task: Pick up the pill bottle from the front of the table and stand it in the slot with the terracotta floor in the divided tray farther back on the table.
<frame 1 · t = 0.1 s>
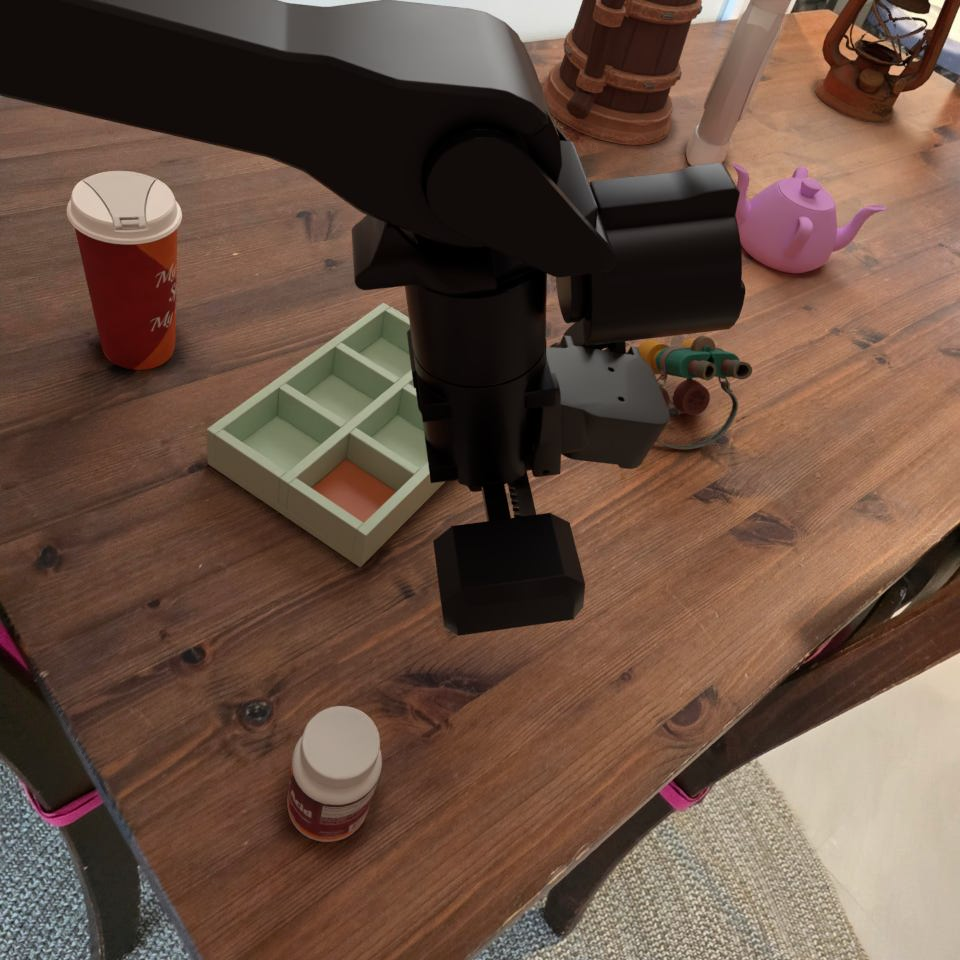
hand: (490, 551, 50), 13 cm above the table, tool pointing down, fingers open, 9 cm apart
lantern: (853, 102, 141), on the table
teapot: (774, 249, 105), on the table
mug: (599, 115, 119), on the table
pill bottle: (327, 804, 52), on the table
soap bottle: (712, 160, 117), on the table
paper cup: (139, 348, 73), on the table
divided tray: (370, 438, 71), on the table
binoculars: (666, 418, 81), on the table
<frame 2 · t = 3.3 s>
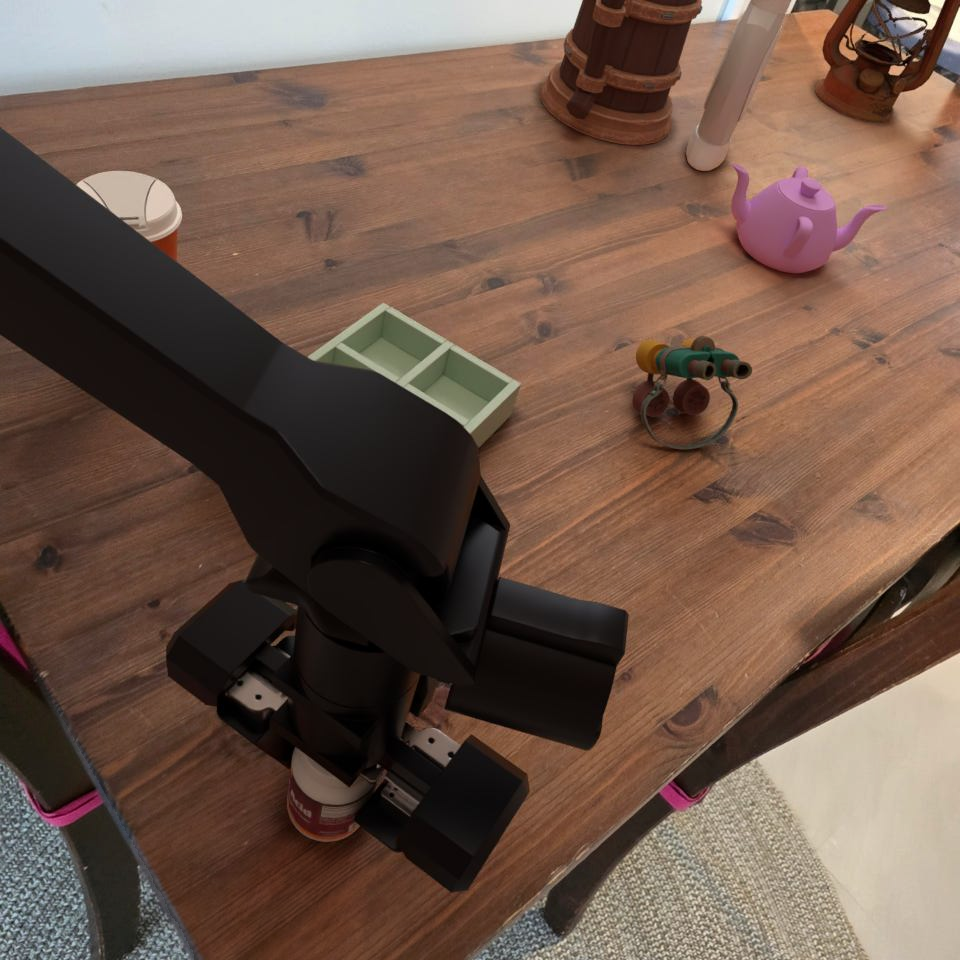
hand: (331, 789, 50), 2 cm above the table, tool pointing down, fingers closed on pill bottle, 5 cm apart
pill bottle: (327, 804, 52), on the table, touching gripper
everything else where it was.
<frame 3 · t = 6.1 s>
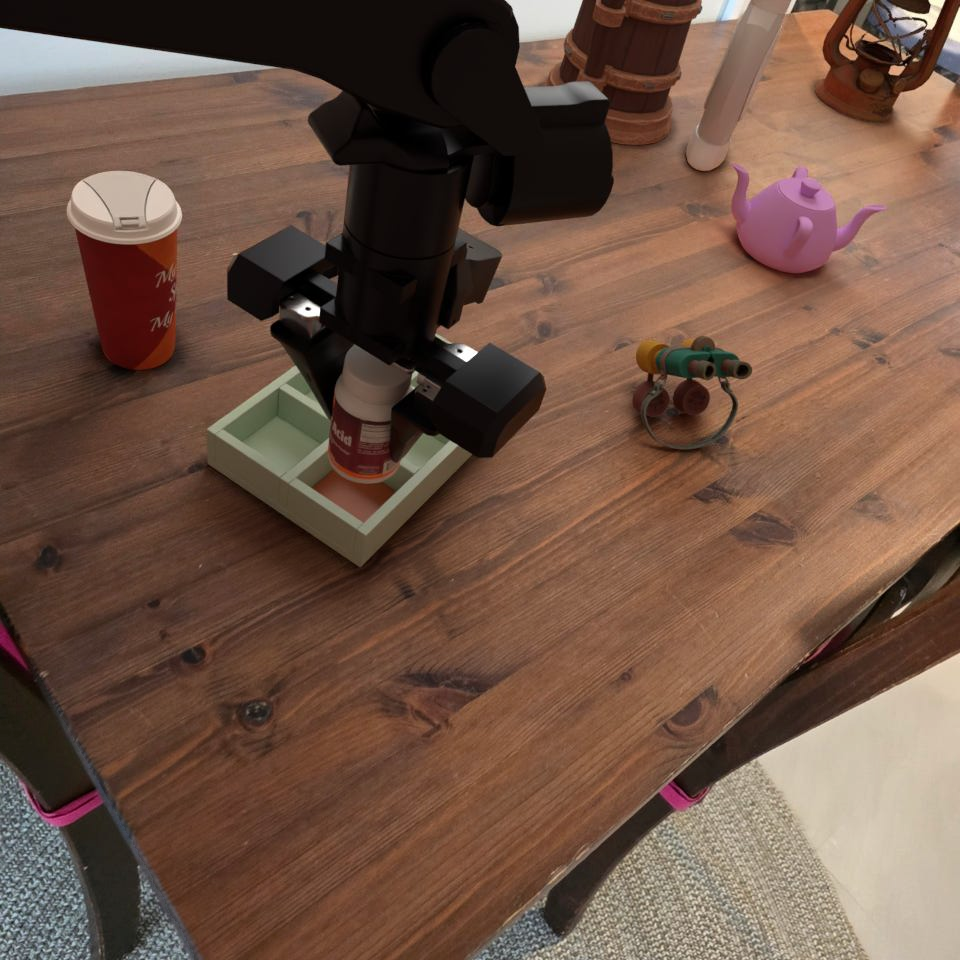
hand: (367, 437, 56), 11 cm above the table, tool pointing down, fingers closed on pill bottle, 5 cm apart
pill bottle: (363, 460, 58), point 9 cm above the table, touching gripper
everything else where it was.
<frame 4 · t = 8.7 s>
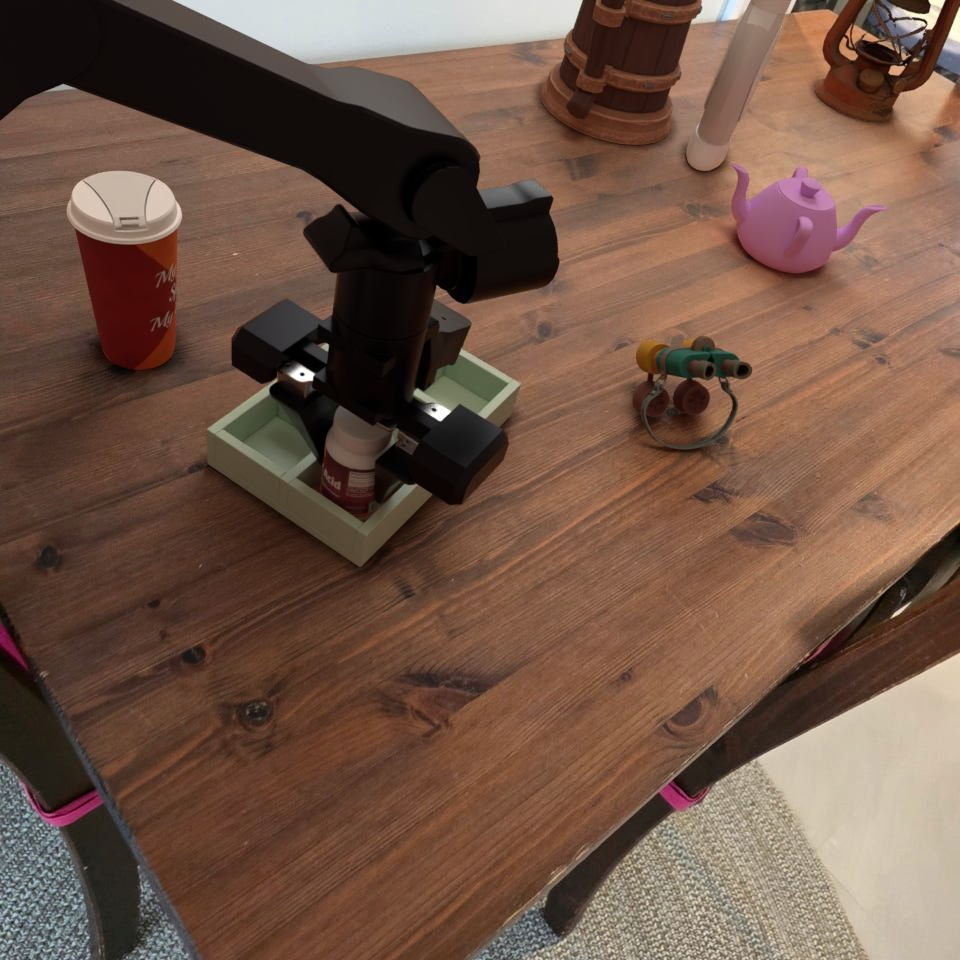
hand: (354, 481, 64), 3 cm above the table, tool pointing down, fingers closed on pill bottle, 5 cm apart
pill bottle: (351, 500, 65), point 1 cm above the table, touching gripper
everything else where it was.
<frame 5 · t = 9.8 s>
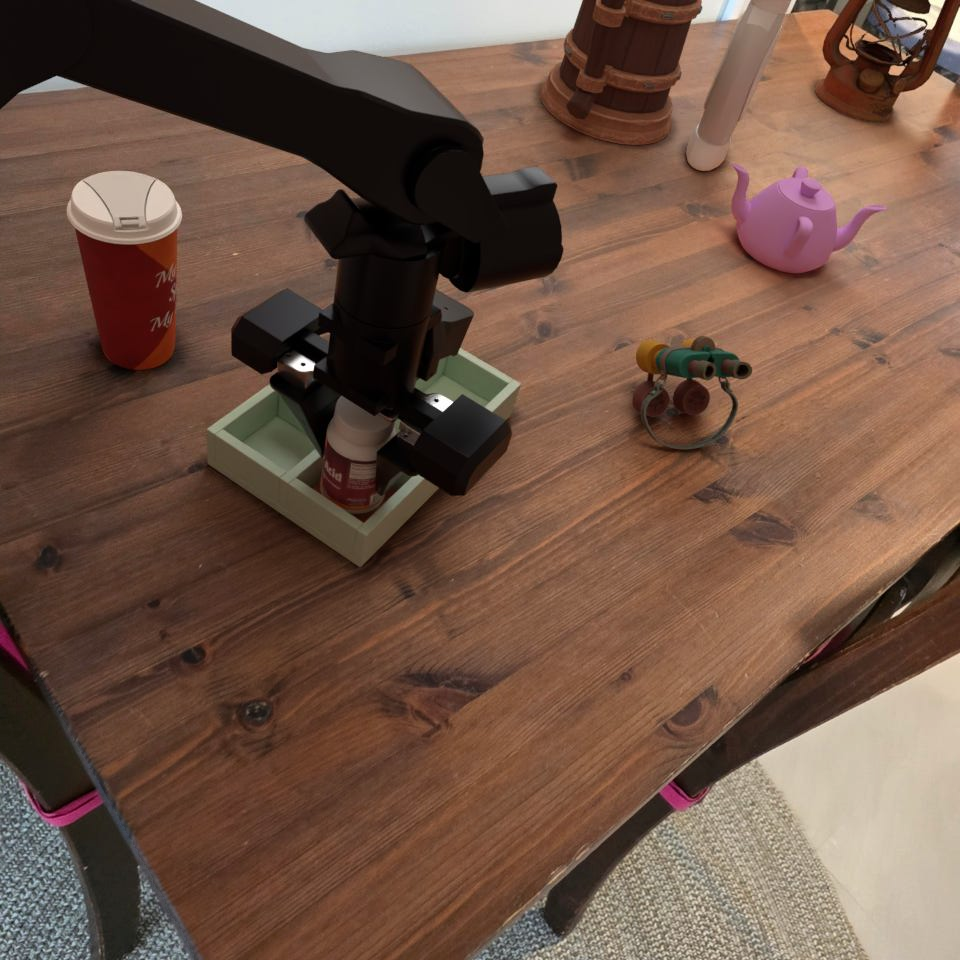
hand: (355, 473, 63), 4 cm above the table, tool pointing down, fingers closed on pill bottle, 5 cm apart
pill bottle: (352, 492, 65), point 2 cm above the table, touching gripper
everything else where it was.
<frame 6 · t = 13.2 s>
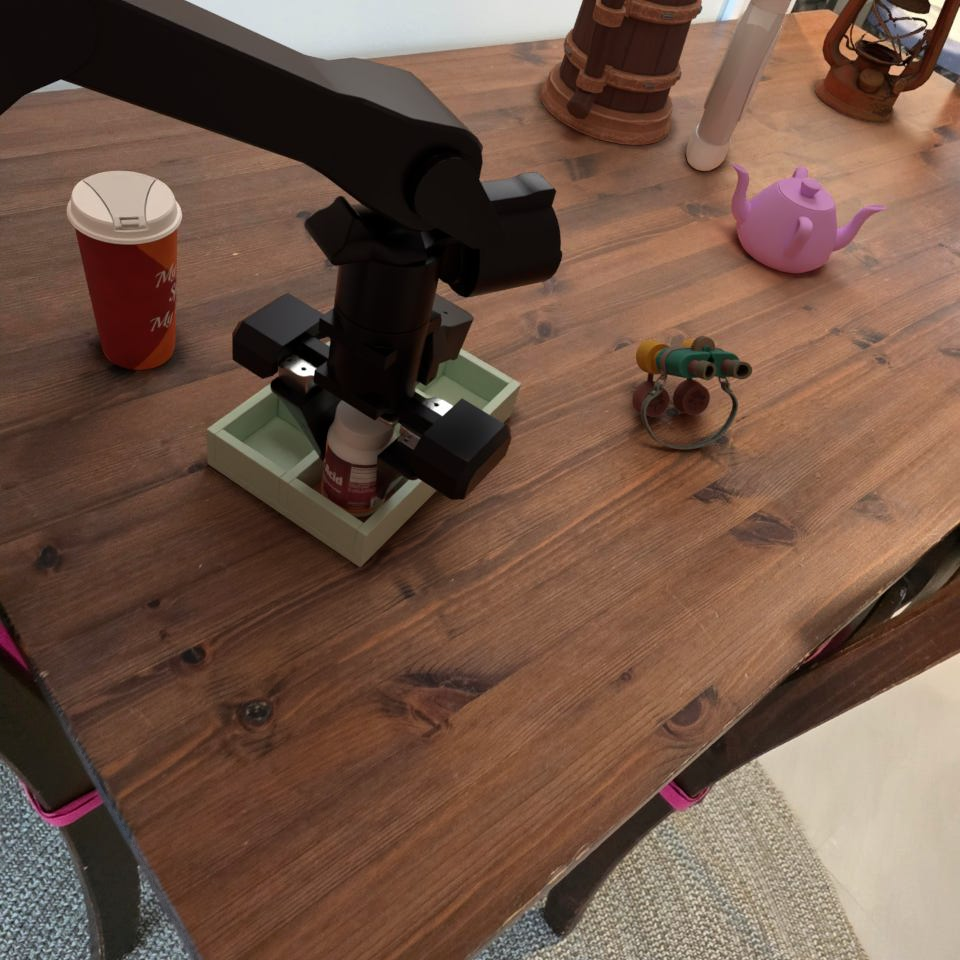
hand: (356, 476, 63), 4 cm above the table, tool pointing down, fingers closed on pill bottle, 5 cm apart
pill bottle: (352, 496, 65), point 2 cm above the table, touching gripper
everything else where it was.
when the fingers open (5 cm above the table, at t = 16.4 s): pill bottle drops 2 cm, resting on divided tray.
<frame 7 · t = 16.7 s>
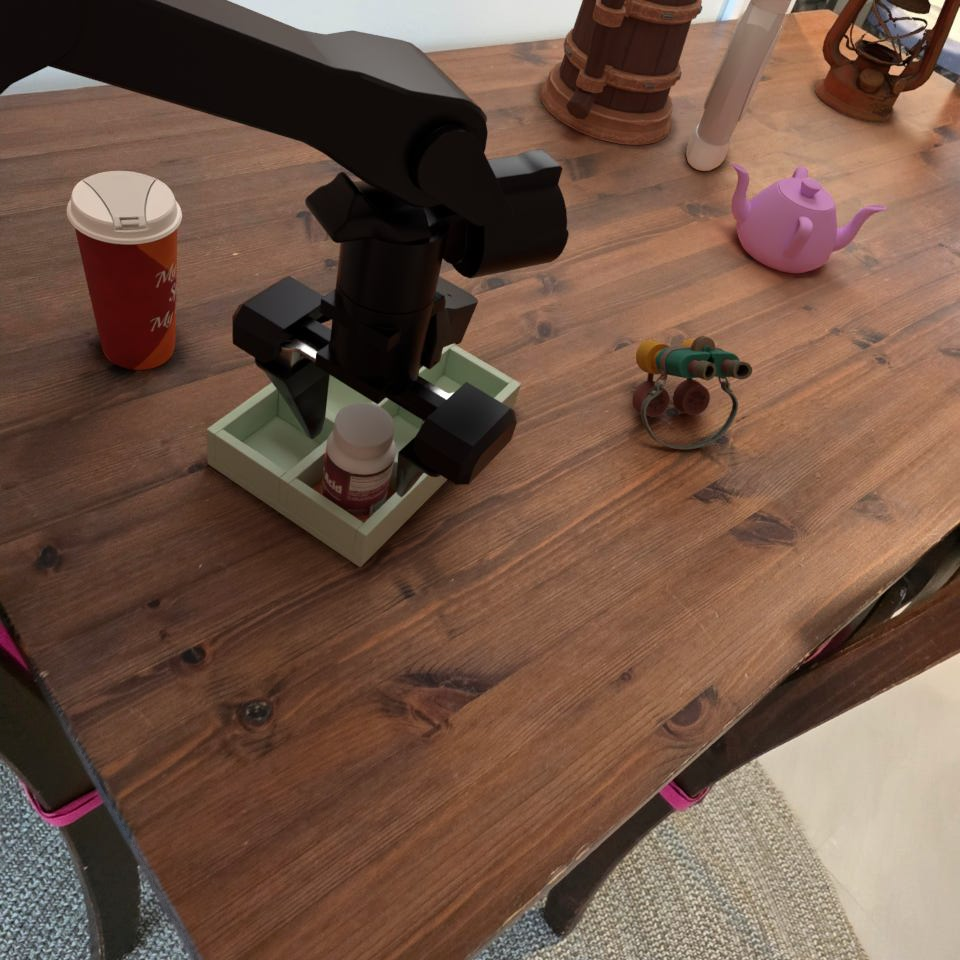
hand: (358, 463, 62), 5 cm above the table, tool pointing down, fingers open, 7 cm apart
pill bottle: (352, 501, 66), point 1 cm above the table, touching divided tray
everything else where it was.
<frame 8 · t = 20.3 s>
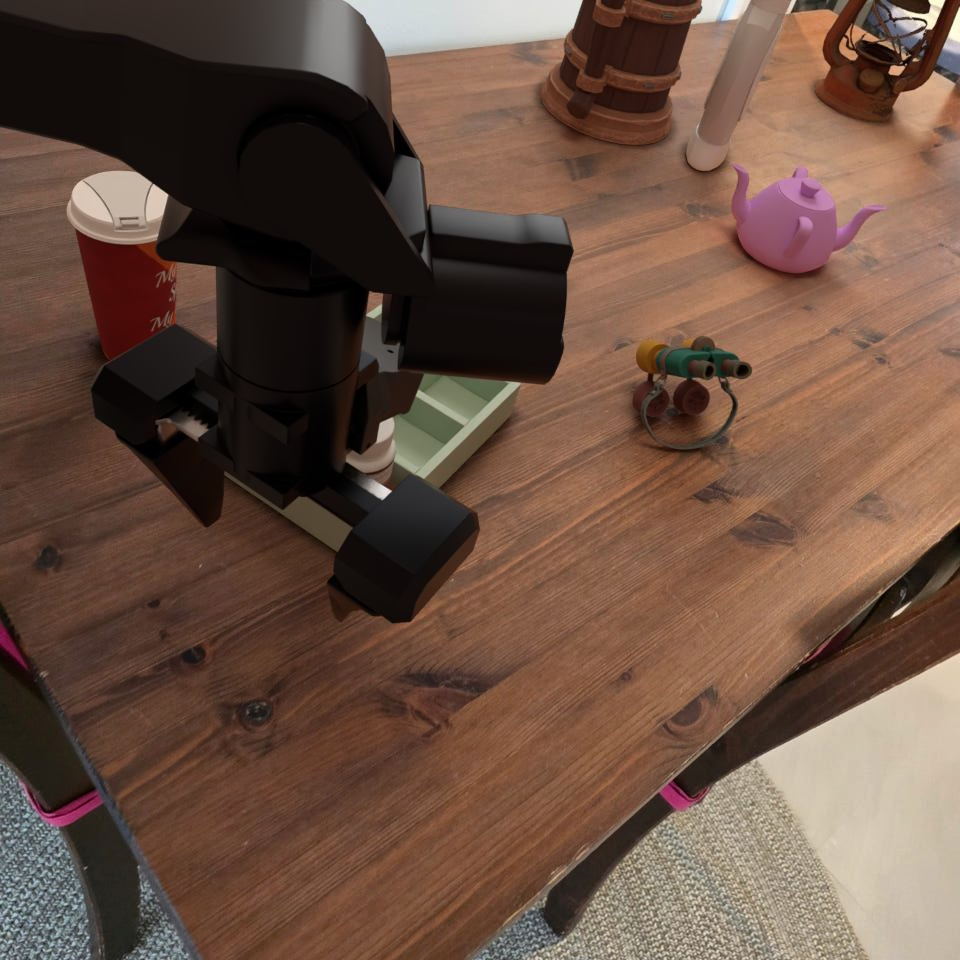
hand: (276, 567, 47), 12 cm above the table, tool pointing down, fingers open, 9 cm apart
nothing on the table moved.
at the end: pill bottle 0.0 cm from the target spot in the divided tray, point 0.8 cm above the divided tray's base; pill bottle tilted 0° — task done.
